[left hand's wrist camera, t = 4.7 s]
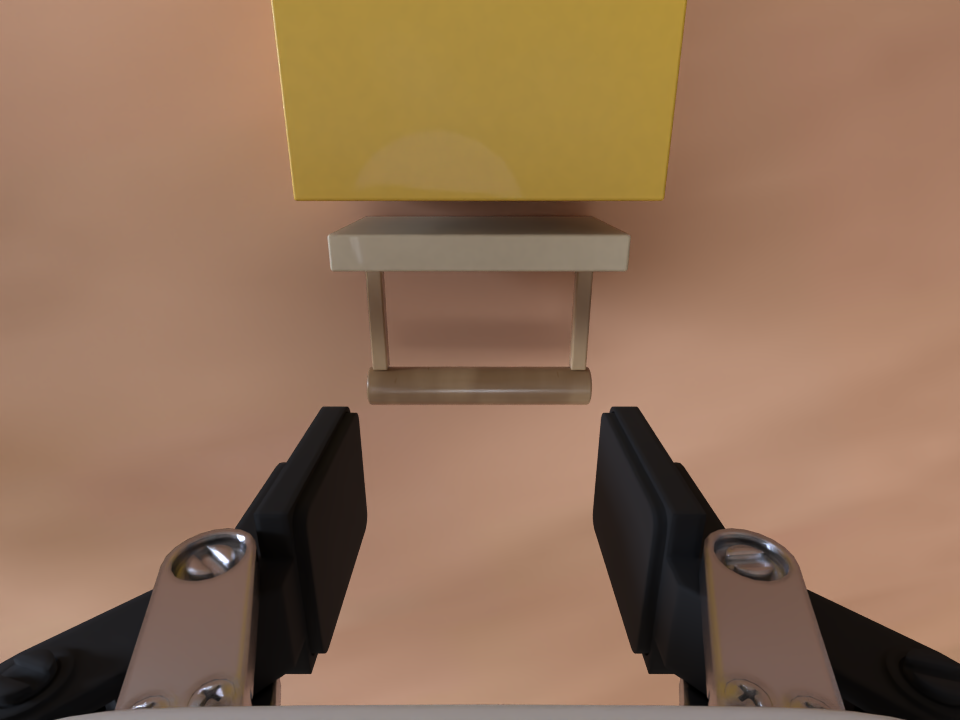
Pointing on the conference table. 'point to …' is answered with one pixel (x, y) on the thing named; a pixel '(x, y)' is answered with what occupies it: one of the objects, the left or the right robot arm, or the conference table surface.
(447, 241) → the drawer
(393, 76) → the cabinet
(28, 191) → the conference table surface
